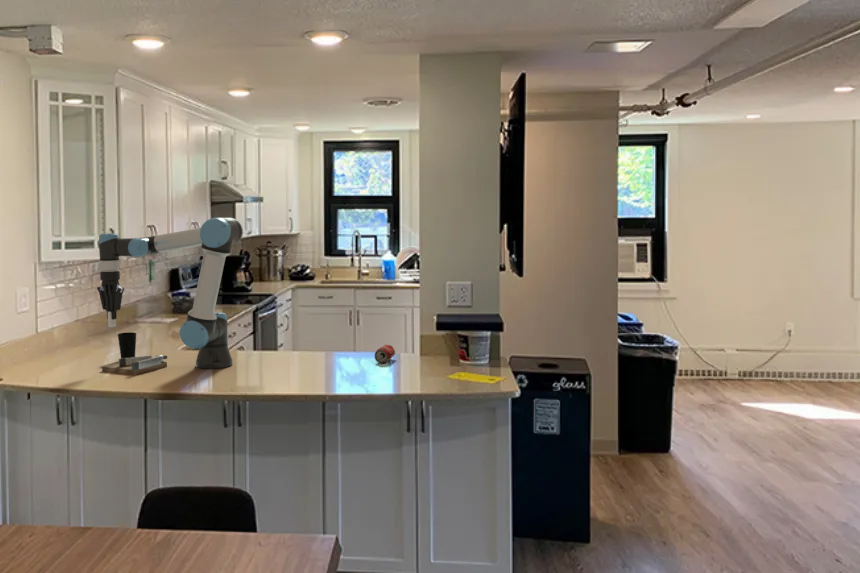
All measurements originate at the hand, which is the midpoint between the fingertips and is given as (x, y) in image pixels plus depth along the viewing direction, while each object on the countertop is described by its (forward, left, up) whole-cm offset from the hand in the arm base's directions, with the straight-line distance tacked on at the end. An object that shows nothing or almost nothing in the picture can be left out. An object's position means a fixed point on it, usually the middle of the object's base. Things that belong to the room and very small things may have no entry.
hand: (112, 326), depth 316 cm
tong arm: (-8, -4, -16) cm, 18 cm away
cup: (+9, -17, -18) cm, 27 cm away
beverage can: (-97, -59, -18) cm, 115 cm away
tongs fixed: (-15, -4, -16) cm, 22 cm away
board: (-8, -4, -18) cm, 20 cm away
